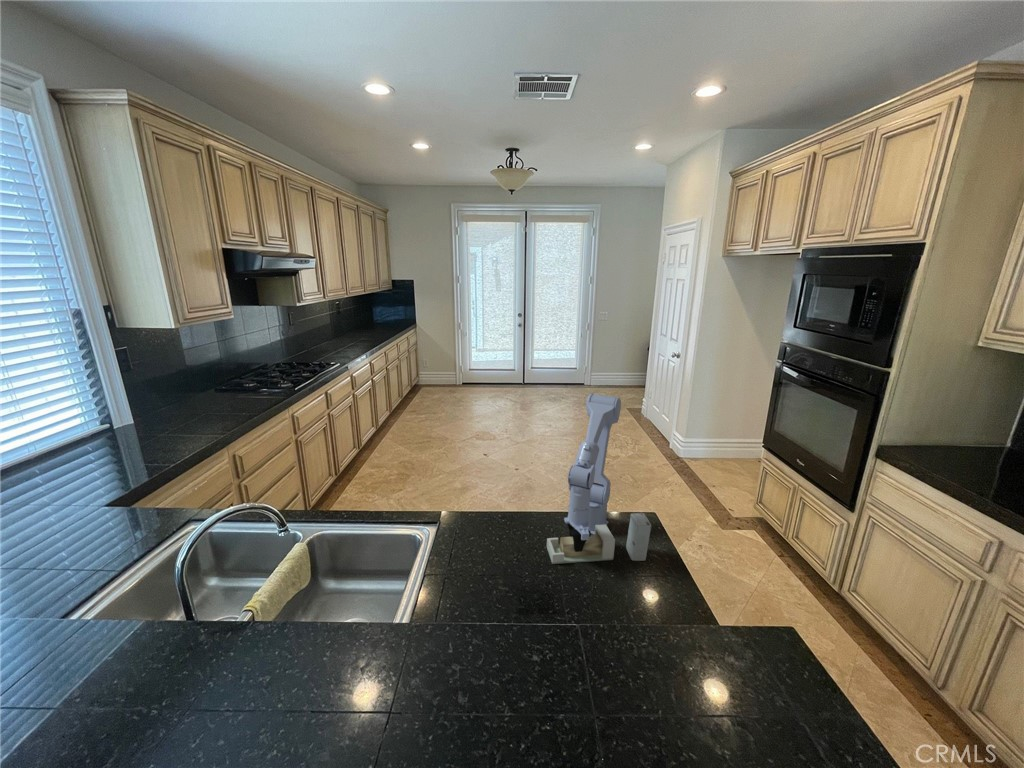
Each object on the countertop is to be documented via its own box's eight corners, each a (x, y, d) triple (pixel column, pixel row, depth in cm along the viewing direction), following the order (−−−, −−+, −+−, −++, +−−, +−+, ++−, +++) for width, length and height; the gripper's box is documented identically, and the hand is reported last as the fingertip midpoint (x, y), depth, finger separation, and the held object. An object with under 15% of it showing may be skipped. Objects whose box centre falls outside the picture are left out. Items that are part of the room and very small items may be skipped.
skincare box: (625, 547, 122) (629, 512, 119) (639, 547, 122) (644, 512, 119) (632, 561, 116) (636, 524, 113) (647, 561, 116) (651, 524, 113)
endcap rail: (604, 543, 123) (605, 524, 122) (613, 559, 116) (615, 539, 114) (546, 546, 121) (547, 527, 119) (552, 564, 114) (553, 543, 112)
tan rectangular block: (598, 546, 121) (599, 534, 120) (602, 554, 118) (603, 542, 117) (559, 548, 119) (560, 537, 118) (562, 556, 116) (563, 544, 115)
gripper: (559, 492, 121) (557, 532, 124) (572, 520, 107) (569, 564, 110) (582, 491, 122) (579, 530, 125) (598, 519, 108) (594, 562, 111)
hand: (576, 546), depth 118 cm, fingers closed on tan rectangular block, 3 cm apart
